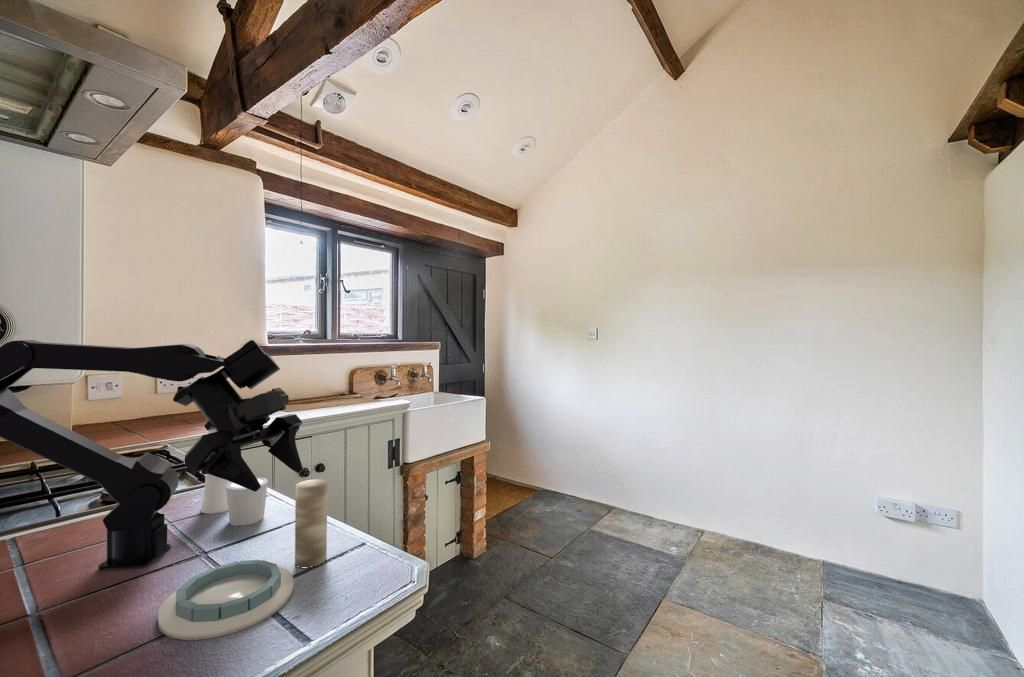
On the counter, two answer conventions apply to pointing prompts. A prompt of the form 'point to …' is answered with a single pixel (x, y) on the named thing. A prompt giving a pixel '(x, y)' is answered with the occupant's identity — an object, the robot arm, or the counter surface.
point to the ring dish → (225, 600)
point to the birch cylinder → (311, 523)
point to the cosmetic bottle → (214, 493)
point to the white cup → (246, 503)
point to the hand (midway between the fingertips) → (280, 479)
